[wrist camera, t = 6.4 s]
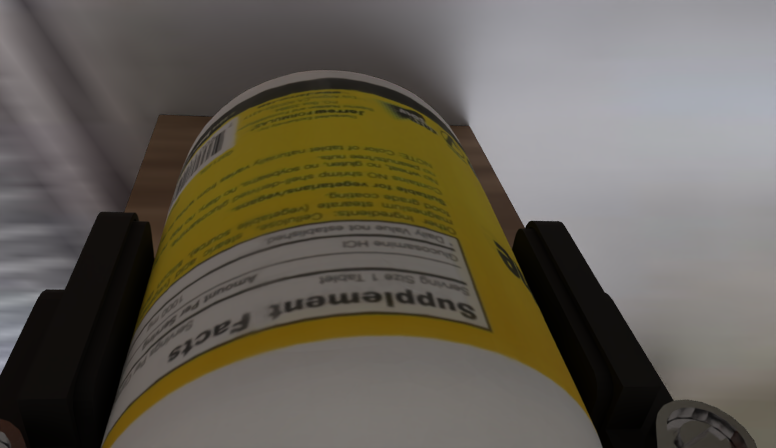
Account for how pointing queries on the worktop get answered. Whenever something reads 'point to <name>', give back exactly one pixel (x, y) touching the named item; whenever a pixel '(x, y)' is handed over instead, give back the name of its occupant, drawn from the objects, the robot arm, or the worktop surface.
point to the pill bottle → (338, 289)
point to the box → (181, 131)
